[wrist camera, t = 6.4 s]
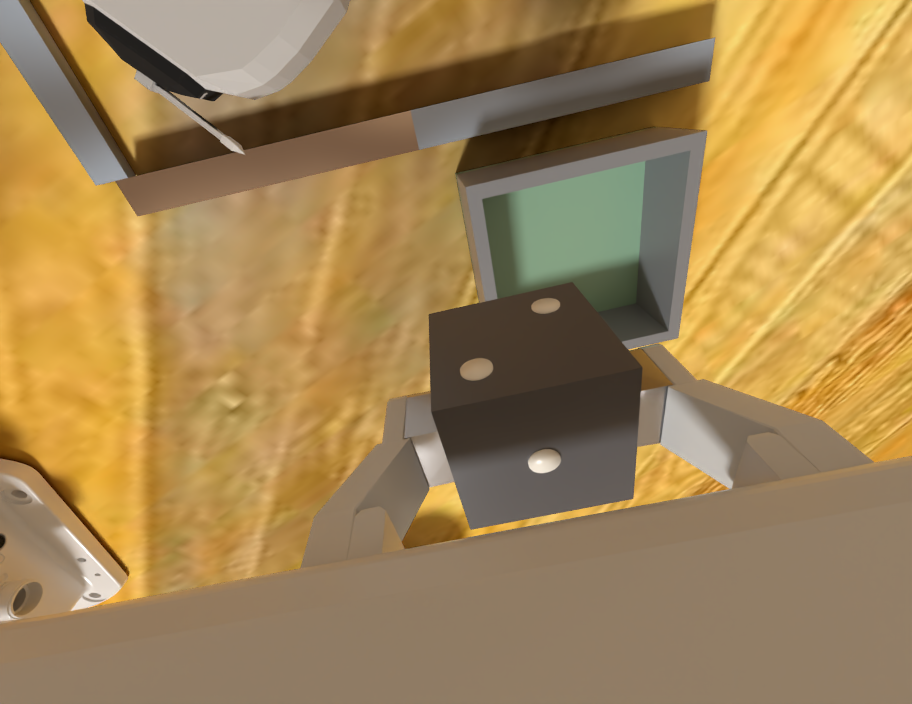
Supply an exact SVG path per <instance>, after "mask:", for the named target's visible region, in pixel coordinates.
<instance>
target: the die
mask: <svg viewBox="0 0 912 704" xmlns="http://www.w3.org/2000/svg"><path fill="white" fill-rule="evenodd" d="M429 343H430V386H431V413H432V416H433V419H434V422H435V425H436V428H437V431H438V434H439V437H440V440H441V443H442V446H443V449H444V452H445V455H446V458H447V461H448V464H449V467H450V470H451V473H452V476H453V479H454V482H455V485H456V487H457V490H458V493H459V496H460V499H461V502H462V505H463V508H464V511H465V514H466V517H467V520H468V523H469V526H470V529H471V530H472V529H477V528H482V527H487V526H493V525H498V524H503V523H508V522H514V521H519V520H524V519H529V518H535V517H540V516H545V515H550V514H556V513H561V512H566V511H572V510H577V509H582V508H587V507H593V506H598V505H603V504H608V503H614V502H619V501H624V500H629V499H633V495H634V481H635V468H636V454H637V440H638V426H639V412H640V398H641V384H642V371H643V367H642V366H641V365H640V364H639V362H638V361H637V360H636V359H635V358H634V356H633V355H632V354H631V353H630V351H629V350H628V349H627V348H626V347H625V345H624V344H623V343H622V342H621V341H620V339H619V338H618V337H617V336H616V334H615V333H614V332H613V331H612V330H611V328H610V327H609V326H608V325H607V323H606V322H605V321H604V320H603V319H602V317H601V316H600V315H599V314H598V313H597V311H596V310H595V309H594V308H593V306H592V305H591V304H590V303H589V302H588V300H587V299H586V298H585V297H584V295H583V294H582V293H581V292H580V291H579V289H578V288H577V287H576V286H575V285H574V283H573V282H570V283H566V284H561V285H557V286H552V287H548V288H544V289H539V290H535V291H530V292H526V293H521V294H517V295H512V296H508V297H503V298H499V299H494V300H490V301H486V302H481V303H477V304H472V305H468V306H463V307H459V308H454V309H450V310H445V311H441V312H436V313H432V314H429Z"/></svg>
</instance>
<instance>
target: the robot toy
mask: <svg viewBox="0 0 912 704" xmlns="http://www.w3.org/2000/svg"><path fill="white" fill-rule="evenodd" d="M83 2H84V3H85V9H86V16H87V21H88V22H89V24H90V25H91V26H92V27H93V28H94V29H95V30H96V31H97V32H98V33H99V34H100V36H101V37H102V38H103V39H104V40H105V41H106V42H107V43H108V44H109V45H110V47H111V48H112V49H113V50H114V51H115V52H116V53H117V55H118V56H119V57H120V58H121V59H122V60H123V61H125V62H126V63H128V64H129V65H131V66H132V67H134V68H135V69H136V70H137V72H136V75H135V78H134V79H136V80H137V81H138V82H140V83H141V84H142V85H144V86H145V87H146V88H147V89H149V90H150V91H153V92H156V93H159V94H161V95H162V96H164V97H165V98H166V99H167V100H169V101H170V102H171V103H173V104H174V105H175V106H177V107H178V108H179V109H180V110H182V111H183V112H184V113H186V114H187V115H188V116H190V117H191V118H192V119H193V120H195V121H196V122H197V123H199V124H200V125H201V126H203V127H204V128H205V129H207V130H208V131H209V132H210V133H212V134H213V135H214V136H216V137H217V138H218V139H220V142H221V143H222V144H224V145H225V146H226V147H228V148H229V149H230V150H231V151H235V152H238V153H241V154H244V155H245V153H244V150H243V148H242V146H241V145H240V144H239V143H238V142H236V141H235V140H234V139H232V138H231V137H230V136H226V135H225V134H224V133H222V132H221V131H220V130H218V129H217V128H216V127H215V126H213V125H212V124H211V123H209V122H208V121H207V120H205V119H204V118H203V117H202V116H200V115H199V114H198V113H196V112H195V111H194V110H192V109H191V108H190V107H189V106H187V105H186V104H185V103H183V102H182V101H181V100H180V99H178V98H177V97H176V96H174V95H173V94H172V93H170V92H169V91H171V92H174V93H177V94H181V95H185V96H189V97H194V98H199V99H205V100H210V101H215V100H216V99H217V98H219V97H220V96H221V95H222V94H223V93H225V94H230V95H234V96H239V97H244V98H249V99H253V100H256V99H259V98H261V97H264V96H267V95H269V94H272V93H275V92H277V91H280V90H281V89H283V88H284V87H285V86H287V85H288V84H289V83H291V82H292V81H293V80H294V79H295V78H296V77H297V76H298V75H299V74H300V73H301V71H302V70H303V69H304V68H305V67H306V66H307V65H308V64H309V63H310V62H311V61H312V60H313V58H314V57H315V56H316V54H317V53H318V51H319V50H320V48H321V47H322V46H323V44H324V43H325V41H326V40H327V39H328V37H329V36H330V34H331V33H332V32H333V30H334V29H335V27H336V26H337V25H338V23H339V22H340V20H341V19H342V18H343V16H344V15H345V13H346V12H347V9H348V6H349V2H350V0H83Z"/></svg>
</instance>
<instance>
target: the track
mask: <svg viewBox="0 0 912 704" xmlns="http://www.w3.org/2000/svg"><path fill="white" fill-rule="evenodd" d="M0 43H1V44H2V46H3V47H4V49H5V50H6V52H7V53H8V55H9V56H10V58H11V59H12V61H13V62H14V64H15V65H16V67H17V68H18V70H19V71H20V73H21V74H22V76H23V77H24V79H25V80H26V82H27V83H28V85H29V86H30V88H31V89H32V91H33V92H34V94H35V95H36V97H37V98H38V100H39V101H40V103H41V104H42V106H43V107H44V108H45V110H46V111H47V113H48V114H49V116H50V117H51V119H52V120H53V122H54V123H55V125H56V126H57V128H58V129H59V131H60V132H61V134H62V135H63V137H64V138H65V140H66V141H67V143H68V144H69V146H70V147H71V149H72V150H73V152H74V153H75V155H76V156H77V158H78V159H79V161H80V162H81V164H82V165H83V167H84V168H85V170H86V171H87V173H88V174H89V176H90V177H91V179H92V180H93V182H94V183H95V185H100V184H105V183H109V182H113V181H115V182H116V183H117V185H118V186H119V188H120V190H121V191H122V193H123V194H124V196H125V197H126V199H127V200H128V202H129V204H130V205H131V207H132V208H133V210H134V211H135V213H136V215H137V216H141V215H146V214H150V213H154V212H158V211H163V210H167V209H171V208H175V207H179V206H184V205H188V204H192V203H196V202H201V201H205V200H209V199H213V198H217V197H222V196H226V195H230V194H234V193H239V192H243V191H247V190H251V189H255V188H260V187H264V186H268V185H272V184H277V183H281V182H285V181H289V180H293V179H298V178H302V177H306V176H310V175H315V174H319V173H323V172H327V171H331V170H336V169H340V168H344V167H348V166H353V165H357V164H361V163H365V162H369V161H374V160H378V159H382V158H386V157H390V156H395V155H399V154H403V153H407V152H412V151H416V150H420V149H424V148H428V147H433V146H437V145H441V144H445V143H450V142H454V141H458V140H462V139H466V138H471V137H475V136H479V135H483V134H488V133H492V132H496V131H500V130H504V129H509V128H513V127H517V126H521V125H526V124H530V123H534V122H538V121H542V120H547V119H551V118H555V117H559V116H564V115H568V114H572V113H576V112H580V111H585V110H589V109H593V108H597V107H602V106H606V105H610V104H614V103H618V102H623V101H627V100H631V99H635V98H640V97H644V96H648V95H652V94H656V93H661V92H665V91H669V90H673V89H678V88H682V87H686V86H690V85H694V84H699V83H703V82H707V81H709V80H710V72H711V65H712V57H713V50H714V43H715V38H711V39H707V40H703V41H698V42H694V43H690V44H686V45H682V46H677V47H673V48H669V49H665V50H661V51H656V52H652V53H648V54H644V55H640V56H635V57H631V58H627V59H623V60H619V61H615V62H610V63H606V64H602V65H598V66H594V67H589V68H585V69H581V70H577V71H573V72H569V73H564V74H560V75H556V76H552V77H548V78H543V79H539V80H535V81H531V82H527V83H523V84H518V85H514V86H510V87H506V88H502V89H497V90H493V91H489V92H485V93H481V94H477V95H472V96H468V97H464V98H460V99H456V100H451V101H447V102H443V103H439V104H435V105H431V106H426V107H422V108H418V109H414V110H410V111H405V112H401V113H397V114H393V115H389V116H385V117H380V118H376V119H372V120H368V121H364V122H359V123H355V124H351V125H347V126H343V127H338V128H334V129H330V130H326V131H322V132H318V133H313V134H309V135H305V136H301V137H297V138H292V139H288V140H284V141H280V142H276V143H272V144H267V145H263V146H259V147H255V148H251V149H246V150H244V153H245V155H244V154H241V153H238V152H234V153H230V154H226V155H221V156H217V157H213V158H209V159H205V160H200V161H196V162H192V163H188V164H184V165H180V166H175V167H171V168H167V169H163V170H159V171H154V172H150V173H146V174H142V175H138V176H136V175H135V173H134V172H133V170H132V169H131V167H130V165H129V164H128V162H127V160H126V159H125V157H124V155H123V154H122V152H121V150H120V149H119V147H118V145H117V144H116V142H115V140H114V139H113V137H112V136H111V134H110V132H109V131H108V129H107V127H106V126H105V124H104V122H103V121H102V119H101V117H100V116H99V114H98V112H97V111H96V109H95V108H94V106H93V104H92V103H91V101H90V99H89V98H88V96H87V94H86V93H85V91H84V89H83V88H82V86H81V84H80V83H79V81H78V79H77V78H76V76H75V75H74V73H73V71H72V70H71V68H70V66H69V65H68V63H67V61H66V60H65V58H64V56H63V55H62V53H61V51H60V50H59V48H58V47H57V45H56V43H55V42H54V40H53V38H52V37H51V35H50V33H49V32H48V30H47V28H46V27H45V25H44V23H43V22H42V20H41V18H40V17H39V15H38V14H37V12H36V10H35V9H34V7H33V5H32V4H31V2H30V0H0ZM125 178H126V179H125Z"/></svg>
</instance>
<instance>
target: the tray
mask: <svg viewBox="0 0 912 704" xmlns="http://www.w3.org/2000/svg"><path fill="white" fill-rule="evenodd" d="M706 136H707V130H693V129H680V128H666V127H650V128H646V129H642V130H638V131H633V132H629V133H625V134H621V135H616V136H612V137H608V138H604V139H599V140H595V141H591V142H587V143H582V144H578V145H574V146H570V147H565V148H561V149H557V150H553V151H548V152H544V153H540V154H536V155H531V156H527V157H523V158H519V159H514V160H510V161H506V162H502V163H497V164H493V165H489V166H485V167H480V168H476V169H472V170H468V171H463V172H459V173H455V174H456V179H457V185H458V190H459V196H460V201H461V206H462V212H463V217H464V223H465V228H466V234H467V239H468V245H469V250H470V255H471V261H472V266H473V272H474V277H475V283H476V288H477V294H478V299H479V303H481V302H486V301H490V300H494V299H499V298H503V297H508V296H512V295H517V294H521V293H526V292H530V291H535V290H539V289H544V288H548V287H552V286H557V285H561V284H566V283H570V282H573V283H574V285H575V286H576V287H577V288H578V289H579V291H580V292H581V293H582V294H583V295H584V297H585V298H586V299H587V300H588V302H589V303H590V304H591V305H592V306H593V308H594V309H595V310H596V311H597V313H598V314H599V315H600V316H601V317H602V319H603V320H604V321H605V322H606V323H607V325H608V326H609V327H610V328H611V330H612V331H613V332H614V333H615V334H616V336H617V337H618V338H619V339H620V341H621V342H622V343H623V344H624V345H625V347H626V348H627V349H632V348H636V347H641V346H645V345H649V344H654V343H658V342H663V341H667V340H672V339H676V338H678V336H679V329H680V321H681V314H682V307H683V300H684V293H685V286H686V279H687V272H688V264H689V257H690V250H691V243H692V236H693V229H694V222H695V215H696V207H697V200H698V193H699V186H700V179H701V172H702V165H703V158H704V150H705V143H706Z"/></svg>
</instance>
